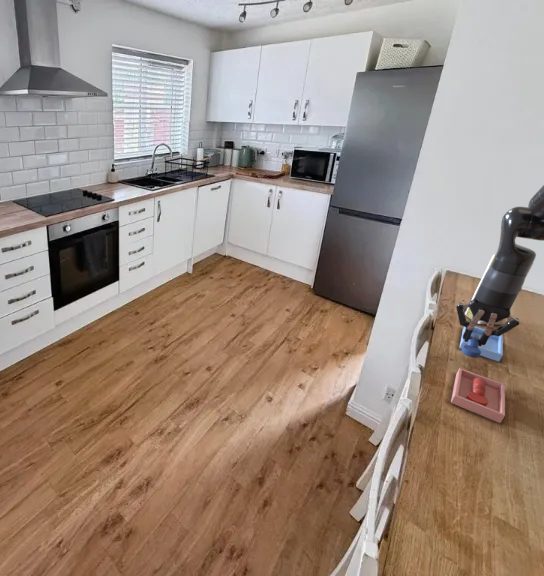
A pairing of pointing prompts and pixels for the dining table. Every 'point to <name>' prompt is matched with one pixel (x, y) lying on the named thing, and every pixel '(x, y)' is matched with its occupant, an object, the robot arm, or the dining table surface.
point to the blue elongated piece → (472, 347)
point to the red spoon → (478, 392)
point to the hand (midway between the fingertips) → (472, 342)
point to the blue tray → (487, 344)
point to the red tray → (492, 393)
